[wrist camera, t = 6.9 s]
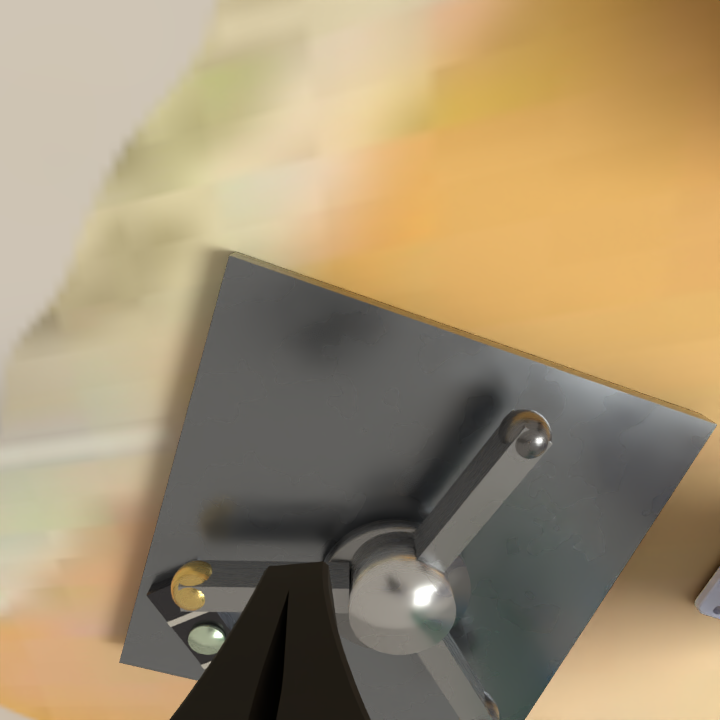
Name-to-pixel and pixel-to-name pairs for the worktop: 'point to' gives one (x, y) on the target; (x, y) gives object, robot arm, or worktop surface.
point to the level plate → (400, 478)
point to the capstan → (403, 568)
